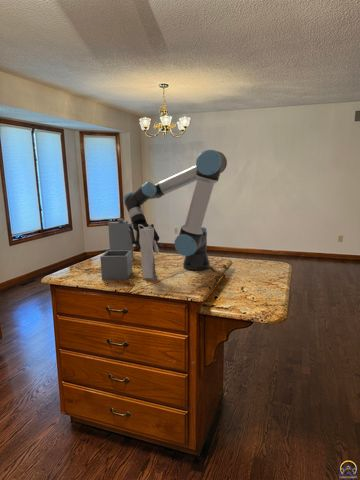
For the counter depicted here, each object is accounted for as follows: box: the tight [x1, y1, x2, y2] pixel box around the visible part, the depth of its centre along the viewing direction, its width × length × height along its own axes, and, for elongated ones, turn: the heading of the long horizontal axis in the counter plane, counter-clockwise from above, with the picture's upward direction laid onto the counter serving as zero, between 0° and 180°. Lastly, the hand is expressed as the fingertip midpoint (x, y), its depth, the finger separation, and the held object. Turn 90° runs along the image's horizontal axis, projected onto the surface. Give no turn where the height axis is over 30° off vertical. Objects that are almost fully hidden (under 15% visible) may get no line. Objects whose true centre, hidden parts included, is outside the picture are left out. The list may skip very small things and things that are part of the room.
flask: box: [107, 218, 134, 259], centre depth 207 cm, size 17×5×25 cm, turn 65°
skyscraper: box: [138, 224, 158, 281], centre depth 162 cm, size 8×8×28 cm
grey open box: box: [99, 250, 134, 281], centre depth 168 cm, size 13×13×12 cm
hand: (150, 253), depth 159 cm, fingers closed on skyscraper, 7 cm apart
